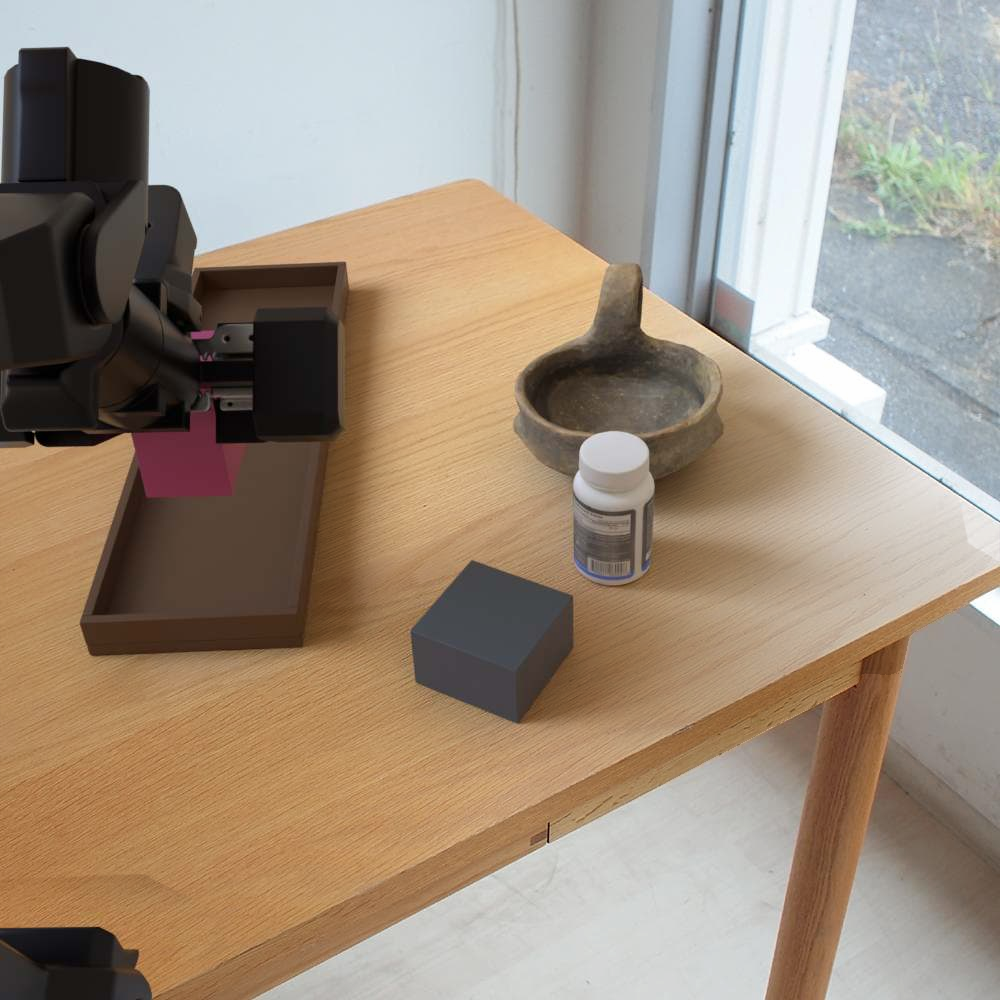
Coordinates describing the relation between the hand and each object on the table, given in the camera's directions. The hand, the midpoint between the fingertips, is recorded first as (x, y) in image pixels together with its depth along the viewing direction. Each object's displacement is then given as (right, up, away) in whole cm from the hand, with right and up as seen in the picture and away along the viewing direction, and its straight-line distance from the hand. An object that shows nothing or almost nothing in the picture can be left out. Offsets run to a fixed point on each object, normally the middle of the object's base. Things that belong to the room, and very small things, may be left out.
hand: (192, 410), depth 71 cm
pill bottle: (+23, -9, +9) cm, 27 cm away
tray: (-1, -1, +20) cm, 20 cm away
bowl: (+25, -1, +19) cm, 31 cm away
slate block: (+16, -14, +2) cm, 22 cm away
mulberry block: (0, -3, +1) cm, 3 cm away
